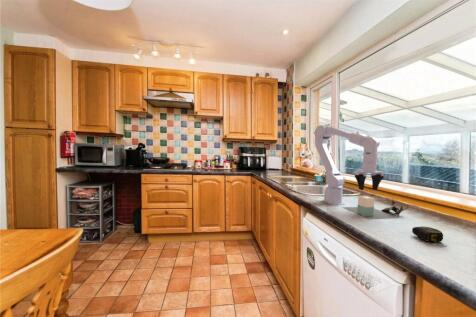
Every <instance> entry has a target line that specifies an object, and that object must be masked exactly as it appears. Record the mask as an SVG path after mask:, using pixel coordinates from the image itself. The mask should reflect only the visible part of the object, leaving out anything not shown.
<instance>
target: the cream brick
mask: <svg viewBox="0 0 476 317" xmlns="http://www.w3.org/2000/svg"><path fill="white" fill-rule="evenodd" d="M357 197H358V198H357V199H358V200H357V206H358V205H360V206H363V207H374V208H375V200H376V198H375V197H372V196H369V195H368V196H367V195H358V196H357Z"/></svg>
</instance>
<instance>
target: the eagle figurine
mask: <svg viewBox="0 0 476 317" xmlns="http://www.w3.org/2000/svg"><path fill="white" fill-rule="evenodd" d="M390 204H391V207H390V206H389V207H385V208H383V209H382V210H380V211H383V212H385V211H387V212H388V211H392V212H394V213H395V214H396V216H397V217H400V214H401V213H402V212H403V211H405V210H407V209H408V208H409V206H406V207H404V206H402V205H401V206H400V208H399V207H396V203H395V201H394V197H393V198H392V199H391V202H390Z"/></svg>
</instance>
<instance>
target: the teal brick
mask: <svg viewBox="0 0 476 317" xmlns="http://www.w3.org/2000/svg"><path fill="white" fill-rule="evenodd" d="M356 207H357V213H358V214H357V215H359V214H360V215H359V216H361V215H363V216H373V213H374V209H375V206H374V207H363V206H360V205H358V204H357V206H356ZM363 216H362V217H363Z"/></svg>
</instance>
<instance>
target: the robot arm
mask: <svg viewBox="0 0 476 317" xmlns="http://www.w3.org/2000/svg"><path fill="white" fill-rule="evenodd" d="M313 134H314V146H315V148H316V150H317V153H318V155H319V157H320V160H321V162H322V165H323V167H324V169H325V172H326V173H325V175H324V176H325V178H326V179H325V180H326V181H325V182H326V185H327V186H326V187H325V189H324V194H323V195H324V196H323V197H324V198H323V200H322V201H323V202H324V203H327V204H329V205H332V206H338V205H339V206H342V205H343V206H345V205H346V203H344V202H343V189H344V188H343V187H344V185H345V184H346V179H345V177H344V175H342V173H341V171H339V170H338V169H337V167H336V165H335V163H334V161H333V158H332V156H331V154H330V151H329V149H328V147H327V146H328V145H326V143H327V142H328V141H329V140H330V138H331V137H332V136H338V137H342V138H345V139H347V140H348V142H349V143H350V144H351V143H352V144H353V145H356V146H360V147H362V148H363V154H362V156H363V157H362V170H354V178H355V180H356V182H357V185H358V186H357V187H358V190H361V191H364V188H365V182H366V179H367V176H370V178H371V182H372V183H371V185H372V186H371V187H372V190H375V191H377V190H378V189H379V186H380V184H381V181H382V180H383V179H384V174H385V172H384V171H382V170H377V163H378V162H377V161H378V148H379V146H380V143H381V142H380V141H379V139H377V138H376V137H375V136H374V137H373V136H372V137H370V135H368V134H362V133H361V131H353V132H349V131H346V130H343V129H340V128H338V127H333V126H326V125H322V124H321V125H320V124H319V125H318V126H316V128H315V129H314V132H313Z"/></svg>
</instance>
